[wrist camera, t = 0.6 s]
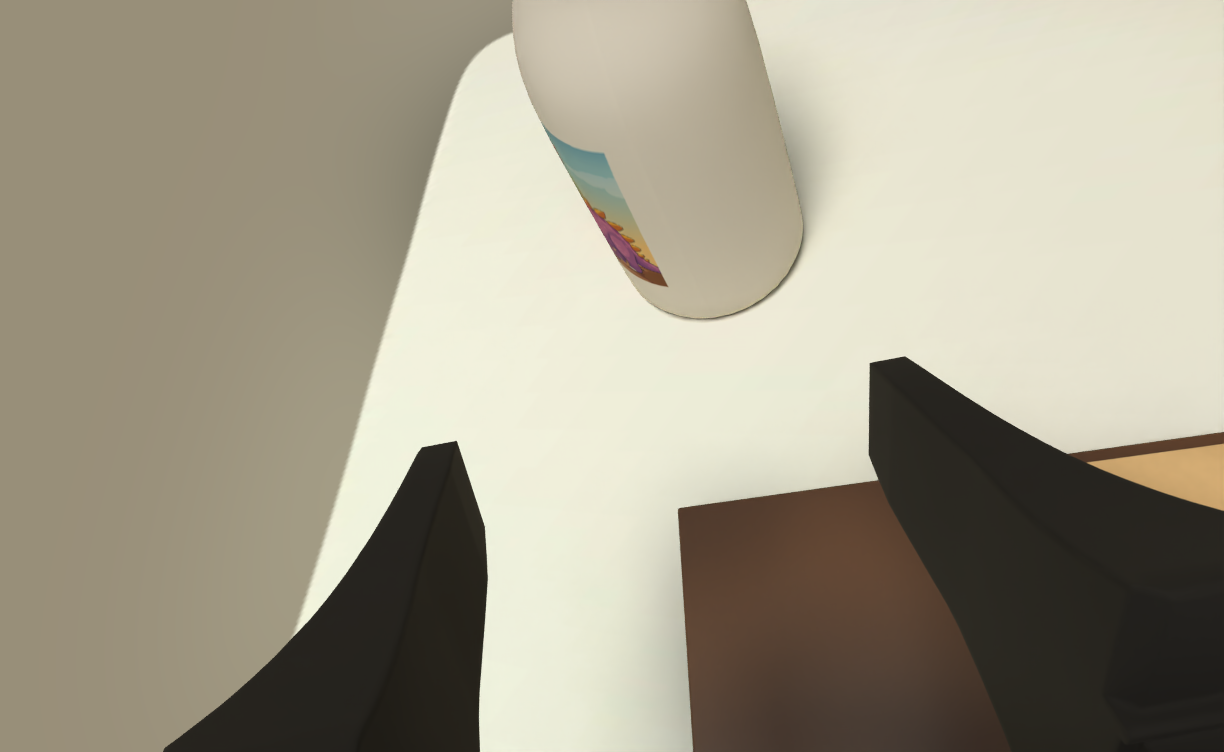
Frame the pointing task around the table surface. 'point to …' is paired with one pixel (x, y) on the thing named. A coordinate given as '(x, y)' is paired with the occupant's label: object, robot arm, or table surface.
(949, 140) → the table surface
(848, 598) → the cutting board
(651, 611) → the table surface
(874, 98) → the table surface
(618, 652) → the table surface
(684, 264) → the milk bottle
